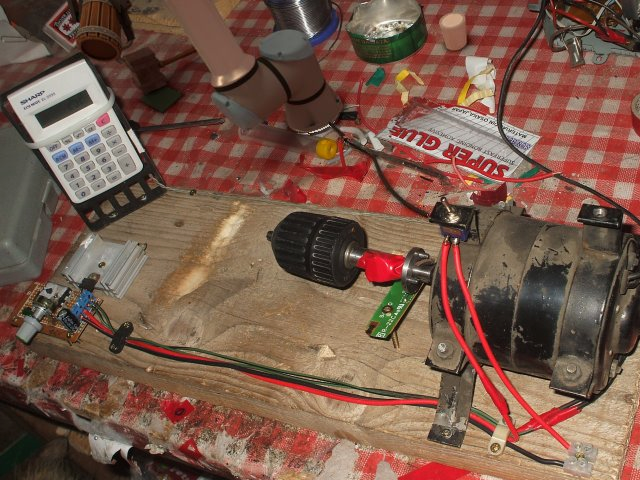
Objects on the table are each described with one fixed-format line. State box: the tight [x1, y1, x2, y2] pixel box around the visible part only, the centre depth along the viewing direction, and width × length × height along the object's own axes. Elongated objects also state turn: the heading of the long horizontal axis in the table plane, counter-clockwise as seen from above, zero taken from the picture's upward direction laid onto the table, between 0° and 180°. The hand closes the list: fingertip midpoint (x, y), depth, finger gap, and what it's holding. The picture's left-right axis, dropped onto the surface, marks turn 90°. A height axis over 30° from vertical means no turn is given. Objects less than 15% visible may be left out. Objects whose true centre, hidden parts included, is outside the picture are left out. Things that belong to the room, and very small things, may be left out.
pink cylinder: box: [438, 11, 468, 51], centre depth 163 cm, size 7×7×7 cm
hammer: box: [122, 46, 198, 95], centre depth 188 cm, size 7×33×10 cm, turn 130°
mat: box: [139, 85, 184, 114], centre depth 184 cm, size 12×8×1 cm, turn 50°
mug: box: [75, 0, 135, 65], centre depth 161 cm, size 16×11×15 cm
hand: (115, 44), depth 164 cm, fingers closed on mug, 9 cm apart
